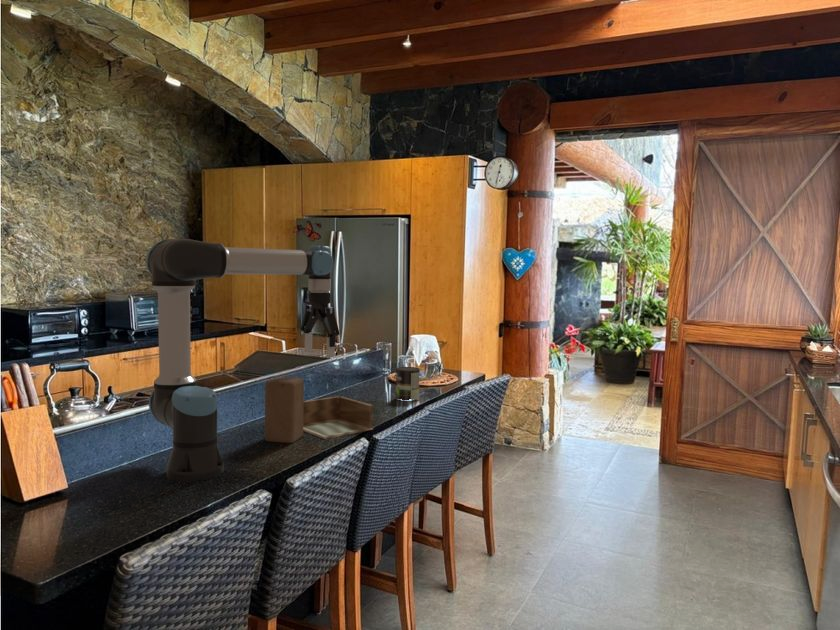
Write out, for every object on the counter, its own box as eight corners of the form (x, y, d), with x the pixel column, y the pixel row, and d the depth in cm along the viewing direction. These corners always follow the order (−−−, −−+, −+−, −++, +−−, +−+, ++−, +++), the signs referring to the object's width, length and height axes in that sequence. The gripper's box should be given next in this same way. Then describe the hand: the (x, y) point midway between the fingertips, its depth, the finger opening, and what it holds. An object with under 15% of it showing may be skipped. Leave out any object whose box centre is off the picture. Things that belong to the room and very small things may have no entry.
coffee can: (399, 404, 269) (399, 370, 268) (392, 399, 279) (393, 366, 278) (422, 402, 272) (422, 370, 271) (415, 398, 282) (415, 366, 281)
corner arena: (325, 439, 212) (325, 413, 211) (293, 427, 227) (293, 402, 226) (372, 430, 225) (373, 405, 225) (340, 419, 240) (340, 395, 240)
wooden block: (292, 444, 206) (292, 382, 205) (263, 442, 208) (263, 381, 207) (304, 436, 216) (304, 377, 214) (276, 434, 218) (276, 376, 216)
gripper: (350, 293, 210) (349, 357, 211) (309, 290, 228) (308, 349, 230) (331, 293, 205) (330, 359, 206) (290, 290, 223) (290, 350, 225)
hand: (319, 354), depth 218 cm, fingers open, 13 cm apart
